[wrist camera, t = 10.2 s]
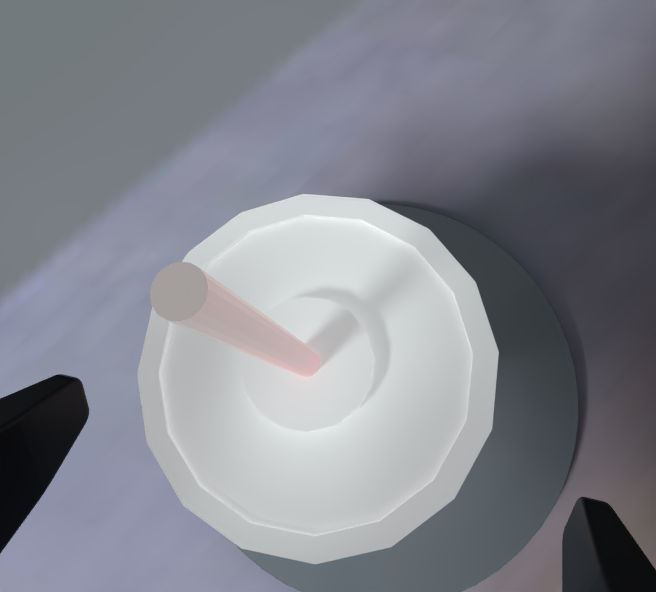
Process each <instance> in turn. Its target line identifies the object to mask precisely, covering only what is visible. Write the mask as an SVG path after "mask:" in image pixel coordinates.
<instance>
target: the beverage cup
mask: <svg viewBox="0 0 656 592" xmlns="http://www.w3.org/2000/svg"><path fill="white" fill-rule="evenodd" d="M150 299H151V305H152V307H153V308H152V311H151V316H150V320H149V325H148V329H147V333H146V338H145V342H144V347H143V351H142V355H141V360H140V364H139V369H138V373H137V376H138V383H139V390H140V397H141V405H142V412H143V419H144V426H145V433H146V440H147V444H148V446H149V448H150V449H151V451H152V453H153V454H154V456H155V458H156V460H157V461H158V463H159V465H160V467H161V468H162V470H163V472H164V473H165V475H166V477H167V479H168V480H169V482H170V484H171V486H172V487H173V489H174V491H175V492H176V494H177V496H178V498H179V499H180V501H181V503H182V505H183V506H185V507H186V508H188V509H189V510H190V511H192V512H193V513H194V514H196V515H197V516H198V517H200V518H201V519H202V520H204V521H205V522H206V523H208V524H209V525H210V526H212V527H213V528H214V529H216V530H217V531H219V532H220V533H221V534H223V535H224V536H225V537H227V538H228V539H229V540H231V541H232V542H233V543H235V544H236V545H237V546H239V547H240V548H241V549H246V550H251V551H255V552H260V553H264V554H269V555H274V556H278V557H283V558H288V559H292V560H297V561H302V562H306V563H311V564H319V563H324V562H328V561H333V560H337V559H341V558H346V557H350V556H355V555H359V554H363V553H368V552H372V551H377V550H381V549H386V548H390V547H392V546H394V545H395V544H396V543H397V542H399V541H400V540H401V539H403V538H404V537H405V536H407V535H408V534H409V533H410V532H412V531H413V530H414V529H416V528H417V527H418V526H420V525H421V524H422V523H424V522H425V521H426V520H427V519H429V518H430V517H431V516H433V515H434V514H435V513H437V512H438V511H439V510H440V509H442V508H443V507H444V506H446V505H447V504H448V503H450V502H451V501H452V500H454V499H455V497H456V495H457V493H458V491H459V489H460V488H461V486H462V484H463V482H464V480H465V478H466V476H467V475H468V473H469V471H470V469H471V467H472V465H473V464H474V462H475V460H476V458H477V456H478V454H479V453H480V451H481V449H482V447H483V445H484V443H485V441H486V440H487V438H488V436H489V434H490V432H491V430H492V425H493V414H494V402H495V390H496V379H497V367H498V356H499V351H498V348H497V345H496V342H495V339H494V336H493V333H492V330H491V327H490V324H489V321H488V318H487V315H486V312H485V309H484V306H483V303H482V300H481V297H480V294H479V291H478V288H477V285H476V282H475V281H474V280H473V278H472V277H471V276H470V275H469V274H468V273H467V272H466V270H465V269H464V268H463V267H462V266H461V265H460V264H459V262H458V261H457V260H456V259H455V258H454V257H453V256H452V254H451V253H450V252H449V251H448V250H447V249H446V248H445V246H444V245H443V244H442V243H441V242H440V241H439V240H438V238H437V237H436V236H435V235H434V234H433V233H432V232H431V230H430V229H428V228H426V227H424V226H422V225H420V224H418V223H416V222H414V221H412V220H410V219H408V218H406V217H404V216H402V215H400V214H398V213H396V212H394V211H392V210H390V209H388V208H386V207H384V206H382V205H380V204H378V203H376V202H374V201H372V200H370V199H361V198H348V197H335V196H323V195H310V194H302V195H298V196H295V197H292V198H288V199H285V200H282V201H278V202H275V203H271V204H268V205H265V206H261V207H258V208H255V209H251V210H248V211H245V212H241V213H240V214H238V215H237V216H236V217H234V218H233V219H232V220H230V221H229V222H228V223H226V224H225V225H224V226H222V227H221V228H220V229H218V230H217V231H216V232H215V233H213V234H212V235H211V236H209V237H208V238H207V239H205V240H204V241H203V242H201V243H200V244H199V245H197V246H196V247H195V248H193V249H192V250H191V251H189V252H188V254H187V255H186V257H185V258H184V260H183V261H182V262H177V263H173V264H170V265H168V266H166V267H165V268H164V269H162V270H161V271H160V272H159V273H158V274H157V276H156V277H155V279H154V280H153V282H152V286H151V290H150Z"/></svg>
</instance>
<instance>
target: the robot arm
mask: <svg viewBox="0 0 656 592" xmlns="http://www.w3.org/2000/svg"><path fill="white" fill-rule="evenodd" d="M88 415H89V407H88V403H87V399H86V396H85V392H84V388H83V384H82V382H81V381H80V380H79V379H78V378H75V377H71V376H67V375H62V374H59V375H55V376H52V377H50V378H48V379H45V380H43V381H41V382H38V383H36V384H34V385H31V386H29V387H27V388H24V389H22V390H20V391H17V392H15V393H13V394H10V395H8V396H6V397H3V398H1V399H0V553H1V552H2V550H3V549H4V548H5V546H6V545H7V544H8V542H9V541H10V539H11V538H12V537H13V535H14V534H15V533H16V531H17V530H18V528H19V527H20V526H21V524H22V523H23V522H24V520H25V519H26V517H27V516H28V515H29V513H30V512H31V510H32V509H33V508H34V506H35V505H36V504H37V502H38V501H39V499H40V498H41V496H42V495H43V494H44V492H45V491H46V489H47V487H48V486H49V484H50V483H51V481H52V479H53V478H54V476H55V474H56V473H57V471H58V469H59V468H60V466H61V464H62V462H63V461H64V459H65V457H66V456H67V454H68V452H69V451H70V449H71V447H72V446H73V444H74V442H75V440H76V439H77V437H78V435H79V434H80V432H81V430H82V429H83V427H84V425H85V423H86V421H87V419H88ZM562 592H656V570H655V568H654V567H653V565H652V564H651V563H650V561H649V560H648V558H647V557H646V555H645V554H644V553H643V551H642V550H641V548H640V547H639V545H638V544H637V543H636V541H635V540H634V538H633V537H632V536H631V534H630V533H629V531H628V530H627V528H626V527H625V526H624V524H623V523H622V521H621V520H620V518H619V517H618V516H617V514H616V513H615V511H614V510H613V508H612V507H611V506H610V505H609V504H608V503H606V502H603V501H599V500H595V499H591V498H587V497H581V498H579V499H578V500H577V502H576V504H575V506H574V508H573V510H572V513H571V515H570V517H569V519H568V522H567V524H566V526H565V529H564V533H563V542H562Z"/></svg>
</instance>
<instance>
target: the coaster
mask: <svg viewBox="0 0 656 592" xmlns="http://www.w3.org/2000/svg"><path fill="white" fill-rule="evenodd" d="M380 205H382V206H384V207H386V208H388V209H390V210H392V211H394V212H396V213H398V214H400V215H402V216H404V217H406V218H408V219H410V220H412V221H414V222H416V223H418V224H420V225H422V226H424V227H426V228H428V229H430V230H431V232H432V233H433V234H434V235H435V236H436V237H437V238H438V240H439V241H440V242H441V243H442V244H443V245H444V246H445V248H446V249H447V250H448V251H449V252H450V253H451V254H452V256H453V257H454V258H455V259H456V260H457V261H458V262H459V264H460V265H461V266H462V267H463V268H464V269H465V270H466V272H467V273H468V274H469V275H470V276H471V277H472V278H473V280H474V281H475V282H476V285H477V288H478V291H479V294H480V297H481V300H482V303H483V306H484V309H485V312H486V315H487V318H488V321H489V324H490V327H491V330H492V333H493V336H494V339H495V342H496V345H497V348H498V351H499V356H498V367H497V379H496V390H495V402H494V414H493V425H492V430H491V432H490V434H489V436H488V438H487V440H486V441H485V443H484V445H483V447H482V449H481V451H480V453H479V454H478V456H477V458H476V460H475V462H474V464H473V465H472V467H471V469H470V471H469V473H468V475H467V476H466V478H465V480H464V482H463V484H462V486H461V488H460V489H459V491H458V493H457V495H456V497H455V499H454V500H452V501H451V502H450V503H448V504H447V505H446V506H444V507H443V508H442V509H440V510H439V511H438V512H437V513H435V514H434V515H433V516H431V517H430V518H429V519H427V520H426V521H425V522H424V523H422V524H421V525H420V526H418V527H417V528H416V529H414V530H413V531H412V532H410V533H409V534H408V535H407V536H405V537H404V538H403V539H401V540H400V541H399V542H397V543H396V544H395V545H394V546H392V547H390V548H386V549H381V550H377V551H372V552H368V553H363V554H359V555H355V556H350V557H346V558H341V559H337V560H333V561H328V562H324V563H319V564H311V563H306V562H302V561H297V560H292V559H288V558H283V557H278V556H274V555H269V554H264V553H260V552H255V551H251V550H246V549H241V548H240V547H239V546H237V545H236V546H237V547H238V548H239V549H240V550H241V551H242V552H243V553H244V554H245V555H247V556H248V557H249V558H250V559H251V560H252V561H254V562H255V563H256V564H257V565H258V566H259V567H261V568H262V569H263V570H265V571H266V572H268V573H269V574H271V575H272V576H274V577H275V578H277V579H278V580H280V581H282V582H283V583H285V584H286V585H289V586H291V587H293V588H295V589H297V590H299V591H301V592H461V591H463V590H466V589H468V588H470V587H472V586H474V585H476V584H478V583H479V582H481V581H483V580H484V579H486V578H487V577H489V576H490V575H492V574H493V573H495V572H496V571H498V570H499V569H501V568H502V567H503V566H504V565H505V564H506V563H508V562H509V561H510V560H511V559H512V558H513V557H514V556H515V555H516V554H518V553H519V552H520V551H521V550H522V549H523V548H524V547H525V545H526V544H527V543H528V542H529V541H530V539H531V538H532V537H533V536H534V535H535V533H536V532H537V531H538V530H539V529H540V528H541V526H542V524H543V523H544V521H545V520H546V518H547V516H548V515H549V513H550V511H551V510H552V508H553V506H554V505H555V503H556V501H557V499H558V497H559V494H560V492H561V490H562V487H563V485H564V483H565V480H566V478H567V475H568V472H569V468H570V464H571V461H572V457H573V453H574V450H575V443H576V435H577V427H578V388H577V382H576V375H575V369H574V363H573V360H572V356H571V353H570V349H569V346H568V343H567V339H566V336H565V334H564V332H563V330H562V327H561V325H560V323H559V321H558V318H557V316H556V314H555V312H554V310H553V309H552V307H551V305H550V304H549V302H548V300H547V299H546V297H545V295H544V294H543V292H542V291H541V289H540V288H539V287H538V285H537V284H536V283H535V282H534V280H533V279H532V278H531V277H530V275H529V274H528V273H527V272H526V270H525V269H524V268H523V267H522V266H521V265H520V264H519V263H518V262H516V261H515V260H514V259H513V258H512V257H511V256H510V255H509V254H508V253H507V252H506V251H505V250H504V249H502V248H501V247H499V246H498V245H497V244H495V243H494V242H493V241H491V240H490V239H489V238H487V237H486V236H484V235H483V234H481V233H479V232H477V231H476V230H474V229H472V228H470V227H469V226H467V225H465V224H463V223H461V222H458V221H456V220H453V219H451V218H449V217H446V216H444V215H441V214H438V213H434V212H431V211H427V210H423V209H420V208H415V207H408V206H401V205H394V204H380Z"/></svg>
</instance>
